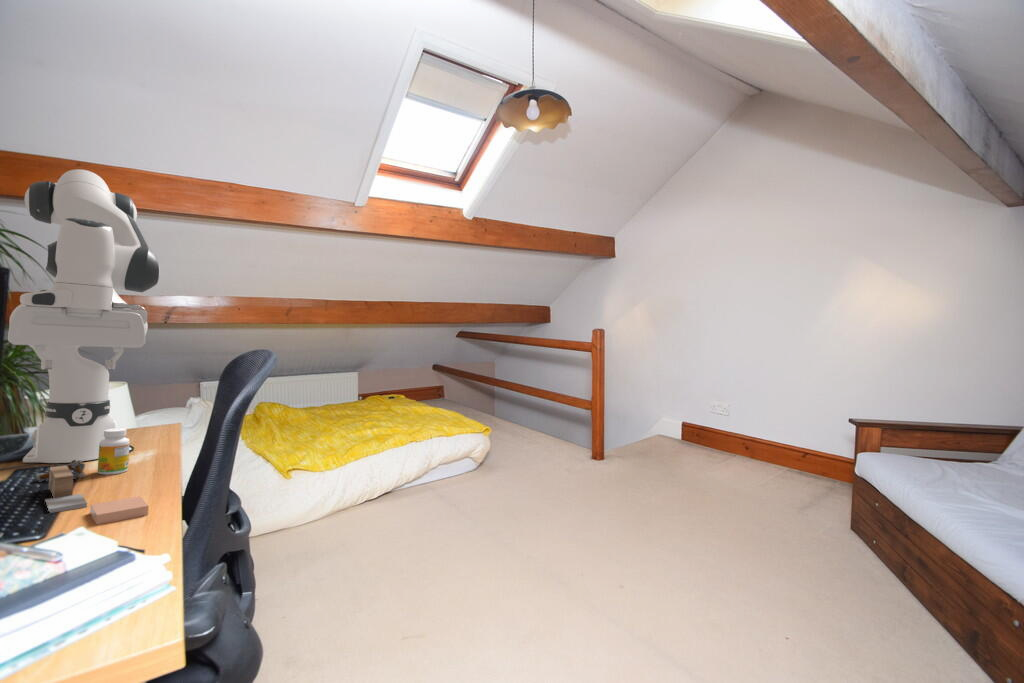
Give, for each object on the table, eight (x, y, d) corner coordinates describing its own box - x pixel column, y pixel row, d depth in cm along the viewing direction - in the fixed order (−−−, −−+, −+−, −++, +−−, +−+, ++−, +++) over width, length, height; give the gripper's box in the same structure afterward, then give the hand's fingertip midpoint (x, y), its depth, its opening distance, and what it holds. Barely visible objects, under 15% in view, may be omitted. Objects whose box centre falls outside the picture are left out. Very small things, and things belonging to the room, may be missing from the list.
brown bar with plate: (39, 490, 94) (40, 468, 94) (73, 485, 98) (74, 464, 98) (48, 513, 83) (50, 488, 83) (86, 507, 87) (88, 482, 87)
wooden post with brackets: (86, 477, 101) (77, 458, 101) (44, 494, 99) (35, 474, 99) (92, 475, 103) (83, 456, 103) (50, 491, 101) (41, 472, 101)
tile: (90, 504, 84) (96, 514, 79) (140, 496, 89) (148, 505, 85) (90, 515, 84) (96, 527, 79) (139, 507, 89) (147, 517, 85)
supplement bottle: (91, 473, 107) (94, 430, 107) (119, 467, 112) (121, 426, 112) (106, 476, 105) (108, 432, 105) (133, 471, 110) (135, 429, 110)
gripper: (144, 305, 104) (141, 367, 104) (9, 294, 89) (5, 367, 89) (151, 305, 100) (147, 370, 100) (11, 294, 85) (6, 370, 85)
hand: (79, 369), depth 95 cm, fingers open, 8 cm apart
